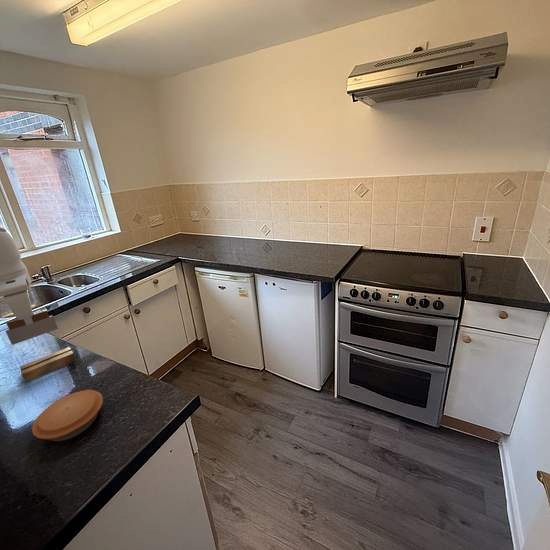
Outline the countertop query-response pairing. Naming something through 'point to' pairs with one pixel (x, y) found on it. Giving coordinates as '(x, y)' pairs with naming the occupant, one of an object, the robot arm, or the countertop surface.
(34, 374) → the knife stand
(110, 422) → the countertop surface
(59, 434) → the pie
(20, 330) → the brown wooden block
